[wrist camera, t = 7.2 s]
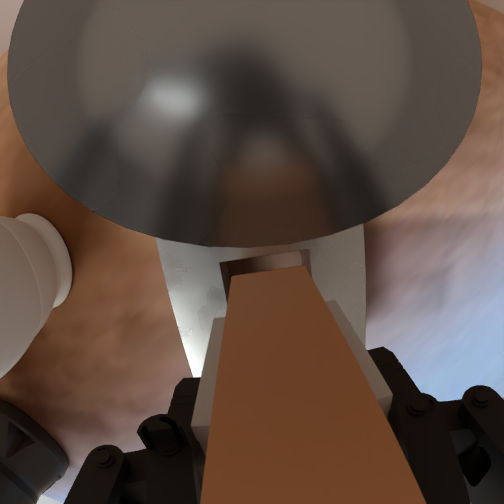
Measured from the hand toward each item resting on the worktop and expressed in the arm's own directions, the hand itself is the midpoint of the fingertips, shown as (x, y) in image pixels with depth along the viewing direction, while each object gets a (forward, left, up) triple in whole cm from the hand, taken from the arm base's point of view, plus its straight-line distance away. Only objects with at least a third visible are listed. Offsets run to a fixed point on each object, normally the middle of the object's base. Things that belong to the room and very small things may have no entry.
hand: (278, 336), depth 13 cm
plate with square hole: (0, +5, -8) cm, 9 cm away
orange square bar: (0, 0, -4) cm, 4 cm away
